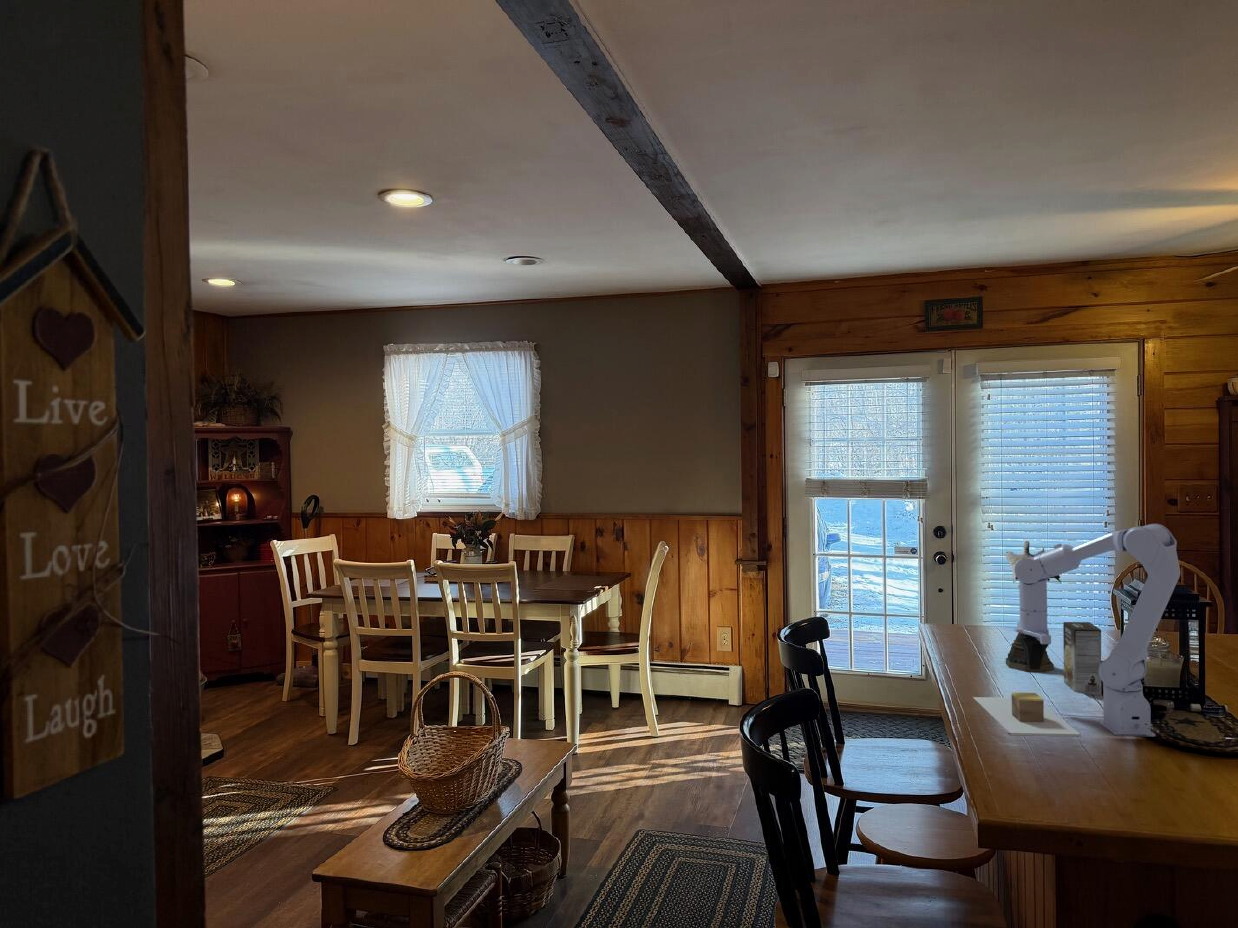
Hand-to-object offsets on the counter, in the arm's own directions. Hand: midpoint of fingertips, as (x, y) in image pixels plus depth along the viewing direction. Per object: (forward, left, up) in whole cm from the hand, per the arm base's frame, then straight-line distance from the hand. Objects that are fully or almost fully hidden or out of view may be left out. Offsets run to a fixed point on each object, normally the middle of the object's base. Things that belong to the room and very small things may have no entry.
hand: (1034, 668), depth 195 cm
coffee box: (+17, -17, -10) cm, 26 cm away
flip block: (-9, +5, -4) cm, 11 cm away
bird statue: (+37, -13, -10) cm, 41 cm away
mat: (-6, +5, -9) cm, 12 cm away
